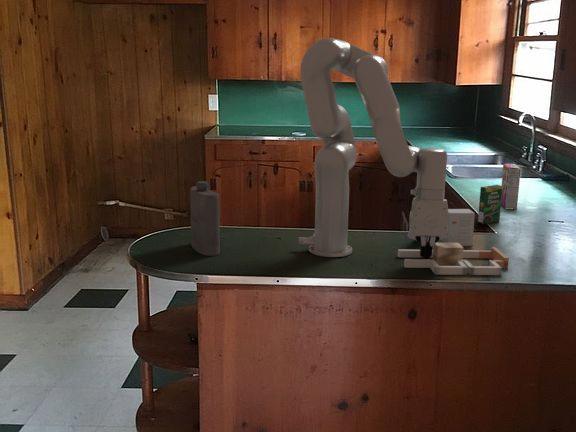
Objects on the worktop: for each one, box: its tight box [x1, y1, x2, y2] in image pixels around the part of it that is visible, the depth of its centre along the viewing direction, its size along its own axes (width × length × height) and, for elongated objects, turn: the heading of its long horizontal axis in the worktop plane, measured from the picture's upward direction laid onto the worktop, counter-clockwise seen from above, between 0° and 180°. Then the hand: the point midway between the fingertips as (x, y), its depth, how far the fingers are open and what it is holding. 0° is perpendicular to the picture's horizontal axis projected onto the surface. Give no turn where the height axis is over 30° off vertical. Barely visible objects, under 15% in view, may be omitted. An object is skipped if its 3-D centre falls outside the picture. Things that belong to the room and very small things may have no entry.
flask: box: [189, 180, 221, 257], centre depth 178 cm, size 15×6×20 cm, turn 26°
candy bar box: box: [500, 163, 522, 210], centre depth 243 cm, size 11×5×16 cm, turn 171°
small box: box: [442, 208, 476, 247], centre depth 190 cm, size 8×6×10 cm
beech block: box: [432, 242, 465, 266], centre depth 171 cm, size 7×5×5 cm
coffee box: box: [477, 184, 502, 225], centre depth 217 cm, size 8×3×13 cm, turn 116°
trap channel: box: [397, 246, 510, 276], centre depth 169 cm, size 28×16×3 cm, turn 91°
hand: (425, 258), depth 172 cm, fingers closed
